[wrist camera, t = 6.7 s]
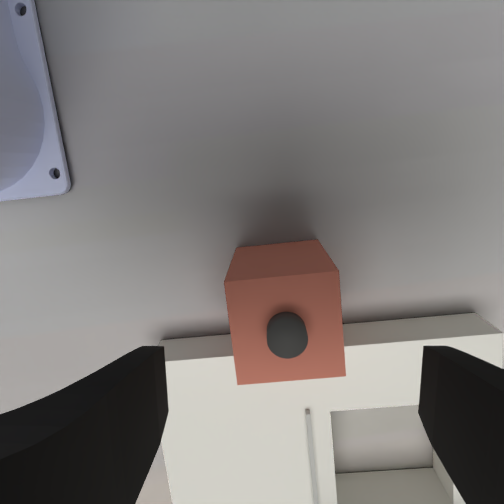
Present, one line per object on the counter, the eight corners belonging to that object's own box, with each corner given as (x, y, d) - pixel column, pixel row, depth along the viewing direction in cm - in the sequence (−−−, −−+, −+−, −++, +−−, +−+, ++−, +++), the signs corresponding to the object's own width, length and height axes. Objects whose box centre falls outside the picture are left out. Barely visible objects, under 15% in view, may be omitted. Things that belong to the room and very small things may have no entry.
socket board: (161, 340, 21) (144, 367, 18) (475, 312, 20) (508, 336, 17) (202, 585, 24) (193, 640, 22) (473, 571, 24) (501, 627, 21)
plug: (236, 247, 20) (221, 288, 13) (317, 239, 20) (343, 277, 13) (245, 323, 21) (235, 397, 14) (323, 316, 21) (350, 388, 14)
